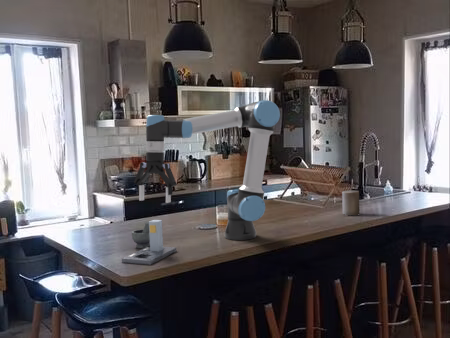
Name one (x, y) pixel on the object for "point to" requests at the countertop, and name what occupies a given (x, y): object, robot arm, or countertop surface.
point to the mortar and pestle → (142, 236)
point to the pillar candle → (350, 202)
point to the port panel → (148, 256)
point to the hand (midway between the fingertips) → (154, 201)
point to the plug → (156, 235)
